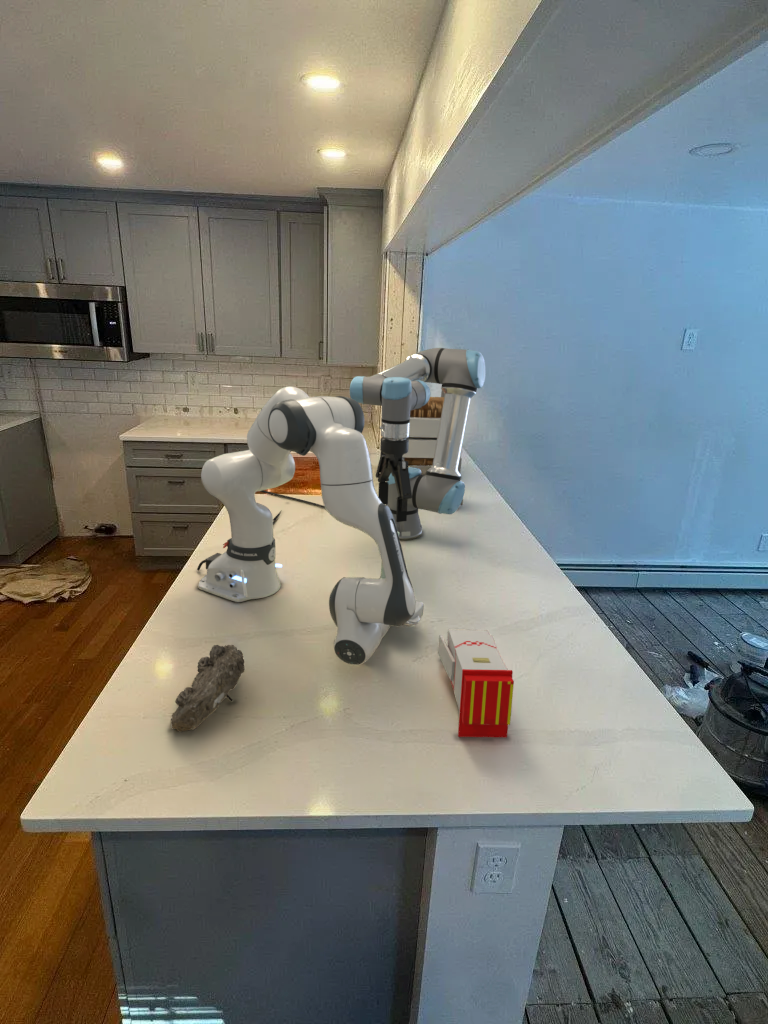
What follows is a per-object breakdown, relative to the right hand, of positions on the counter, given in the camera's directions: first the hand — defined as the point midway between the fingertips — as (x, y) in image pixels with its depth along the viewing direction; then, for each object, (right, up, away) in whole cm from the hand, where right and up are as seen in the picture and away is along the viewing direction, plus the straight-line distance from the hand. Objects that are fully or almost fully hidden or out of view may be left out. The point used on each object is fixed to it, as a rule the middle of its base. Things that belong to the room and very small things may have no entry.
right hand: (391, 512), depth 158 cm
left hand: (0, -20, -12) cm, 24 cm away
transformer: (+15, +19, +117) cm, 120 cm away
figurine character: (+26, +3, +74) cm, 79 cm away
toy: (+16, -38, -39) cm, 57 cm away
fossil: (-36, -37, -45) cm, 68 cm away
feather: (-41, -1, +55) cm, 69 cm away
